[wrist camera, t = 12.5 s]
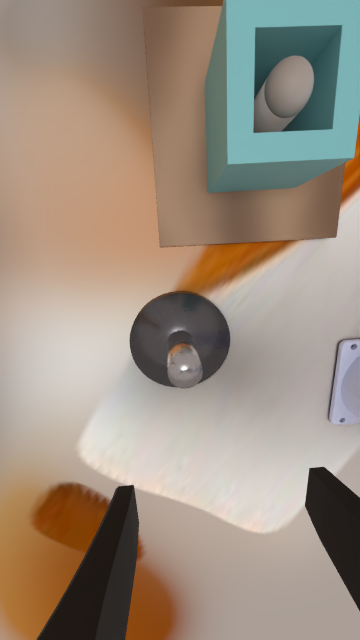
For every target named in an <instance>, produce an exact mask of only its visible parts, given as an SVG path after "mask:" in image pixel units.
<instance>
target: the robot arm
mask: <svg viewBox="0 0 360 640" xmlns="http://www.w3.org/2000/svg"><path fill="white" fill-rule="evenodd" d="M351 345H353V347H352V348H351ZM329 421H330V422H331V423H332V424H333V425H342V424H353V423H360V339H353V340H344V341H342V342H341V343H340V345H339V350H338V357H337V364H336V371H335V379H334V386H333V393H332V400H331V408H330V415H329ZM305 507H306V509H307V511H308V514H309V516H310V518H311V521H312V523H313V525H314V527H315V529H316V532H317V534H318V536H319V538H320V540H321V542H322V544H323V546H324V547H325V549H326V551H327V553H328V555H329V557H330V558H331V560H332V562H333V564H334V566H335V567H336V569H337V571H338V573H339V574H340V576H341V578H342V580H343V582H344V584H345V585H346V587H347V589H348V591H349V593H350V594H351V596H352V598H353V600H354V602H355V603H356V605H357V607H358V609H359V611H360V498H359V497H358V496H357V495H356V494H355V493H354V492H352V491H351V490H350V489H349V488H348V487H347V486H345V485H344V484H343V483H342V482H341V481H340V480H338V479H337V478H336V477H335V476H334V475H333V474H332V473H331V472H329V471H328V470H327V469H326V468H325V467H318V468H310V469H309V477H308V485H307V494H306V502H305ZM138 530H139V519H138V512H137V505H136V498H135V491H134V485H129V486H119V487H118V488H117V489H116V490H115V493H114V495H113V498H112V500H111V502H110V505H109V507H108V509H107V512H106V514H105V516H104V518H103V520H102V522H101V525H100V527H99V529H98V531H97V533H96V535H95V537H94V539H93V541H92V543H91V545H90V547H89V549H88V551H87V553H86V555H85V557H84V559H83V561H82V562H81V564H80V566H79V568H78V570H77V571H76V574H75V575H74V577H73V579H72V580H71V583H70V584H69V586H68V588H67V590H66V591H65V593H64V595H63V597H62V598H61V600H60V602H59V604H58V605H57V607H56V609H55V610H54V612H53V614H52V615H51V617H50V619H49V620H48V622H47V624H46V625H45V627H44V628H43V630H42V632H41V633H40V635H39V636H38V638H37V640H125V636H126V630H127V623H128V616H129V609H130V602H131V594H132V588H133V581H134V574H135V566H136V559H137V546H138Z"/></svg>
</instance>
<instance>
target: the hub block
mask: <svg viewBox="0 0 360 640" xmlns="http://www.w3.org/2000/svg"><path fill="white" fill-rule="evenodd" d="M221 10H222V6H204V7H143V19H144V20H143V21H144V33H145V34H144V35H145V48H146V62H147V76H148V89H149V103H150V115H151V130H152V144H153V157H154V170H155V185H156V199H157V212H158V226H159V238H160V239H159V240H160V247H176V246H195V245H214V244H232V243H250V242H268V241H287V240H305V239H323V238H334V237H336V236H337V227H338V219H339V210H340V202H341V194H342V185H343V177H344V168H345V163H343V164H341V165H339V166H337V167H335V168H333V169H331V170H329V171H327V172H325V173H323V174H321V175H319V176H317V177H315V178H313V179H311V180H309V181H307V182H305V183H303V184H301V185H299V186H298V187H296V188H286V189H268V190H250V191H232V192H215V193H208V185H207V150H206V115H205V80H206V75H207V71H208V67H209V62H210V58H211V54H212V49H213V45H214V40H215V36H216V32H217V27H218V23H219V19H220V14H221ZM313 85H314V73H313V69H312V66H311V64H310V63H309V61H308V60H307V59H305V58H304V57H302V56H296V55H294V56H289V57H287V58H285V59H283V60H281V61H280V62H279V63H278V64H277V65H276V66H275V67H274V68H273V69H272V71H271V72H270V74H269V75H268V77H267V79H266V80H265V82H264V84H263V86H262V87H261V89H260V91H259V93H258V94H257V96H256V98H255V100H254V127H253V133H264V132H281V131H282V130H283V129H284V128H285V127H286V126H287V125H288V124H289V123H290V122H291V121H292V120H293V119H294V118H295V116H296V115H297V114H298V113H299V112H300V111H301V110H302V109H303V108H304V106H305V105H306V103H307V102H308V100H309V98H310V96H311V93H312V90H313Z"/></svg>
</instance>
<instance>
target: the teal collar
mask: <svg viewBox="0 0 360 640" xmlns="http://www.w3.org/2000/svg"><path fill="white" fill-rule="evenodd" d="M294 55H296V56H302V57H304V58H305V59H307V60H308V61H309V63H310V64H311V66H312V69H313V73H314V85H313V90H312V93H311V96H310V98H309V100H308V102H307V103H306V105H305V106H304V108H303V109H302V110H301V111H300V112H299V113H298V114H297V115H296V116H295V118H294V119H293V120H292V121H291V122H290V123H289V124H288V125H287V126H286V127H285V128H284V129H283V130H282V131H281V132H264V133H253V127H254V100H255V98H256V96H257V94H258V93H259V91H260V89H261V87H262V86H263V84H264V82H265V80H266V79H267V77H268V75H269V74H270V72H271V71H272V69H273V68H274V67H275V66H276V65H277V64H278V63H279V62H280V61H281V60H283V59H285V58H287V57H289V56H294ZM359 113H360V0H224V1H223V6H222V10H221V14H220V19H219V23H218V27H217V32H216V36H215V40H214V45H213V49H212V54H211V58H210V62H209V67H208V71H207V75H206V80H205V115H206V150H207V185H208V193H215V192H232V191H250V190H268V189H286V188H296V187H298V186H299V185H301V184H303V183H305V182H307V181H309V180H311V179H313V178H315V177H317V176H319V175H321V174H323V173H325V172H327V171H329V170H331V169H333V168H335V167H337V166H339V165H341V164H343V163H345V162H347V161H349V160H351V159H353V158H354V155H355V146H356V138H357V130H358V121H359Z"/></svg>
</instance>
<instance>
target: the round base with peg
mask: <svg viewBox="0 0 360 640" xmlns="http://www.w3.org/2000/svg"><path fill="white" fill-rule="evenodd" d="M229 345H230V333H229V328H228V325H227V322H226V320H225V318H224V316H223V315H222V313H221V312H220V311H219V309H218V308H217V307H216V306H215V305H214V304H213V303H211V302H210V301H209V300H208V299H206V298H204V297H203V296H200V295H198V294H195V293H191V292H184V291H176V292H169V293H166V294H163V295H160V296H158V297H156V298H154V299H153V300H151V301H150V302H149V303H147V304H146V305H145V306H144V307H143V308H142V309H141V311H140V312H139V314H138V315H137V317H136V319H135V321H134V324H133V326H132V329H131V333H130V348H131V353H132V356H133V359H134V361H135V363H136V365H137V366H138V367H139V369H140V370H141V371H142V372H143V373H144V374H145V375H146V376H147V377H148V378H150V379H152V380H153V381H155V382H157V383H159V384H162V385H165V386H170V387H179V388H190V387H193V386H195V385H196V384H198V383H201V382H203V381H205V380H206V379H208V378H209V377H211V376H212V375H213V374H214V373H215V372H216V371H217V370H218V369H219V368H220V367H221V365H222V364H223V362H224V360H225V358H226V356H227V353H228V350H229Z"/></svg>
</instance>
